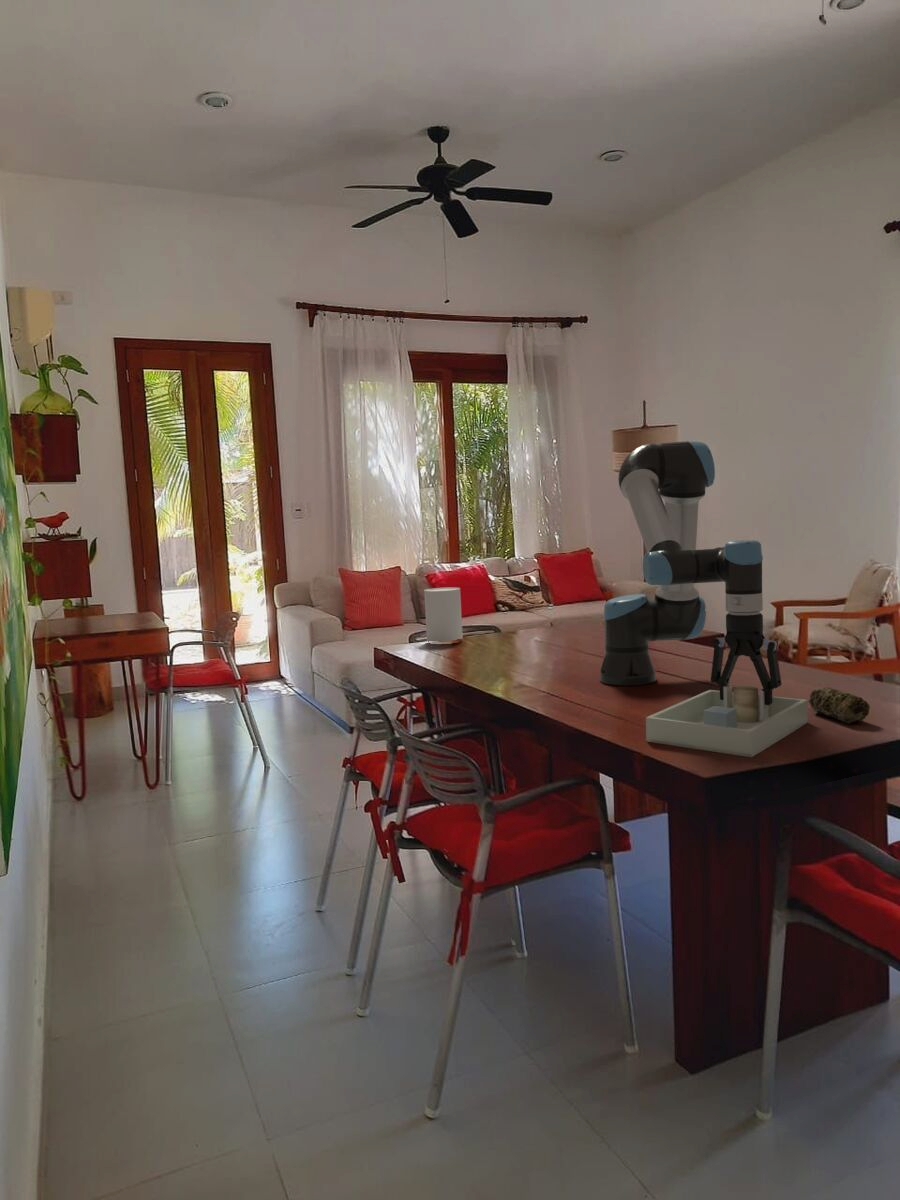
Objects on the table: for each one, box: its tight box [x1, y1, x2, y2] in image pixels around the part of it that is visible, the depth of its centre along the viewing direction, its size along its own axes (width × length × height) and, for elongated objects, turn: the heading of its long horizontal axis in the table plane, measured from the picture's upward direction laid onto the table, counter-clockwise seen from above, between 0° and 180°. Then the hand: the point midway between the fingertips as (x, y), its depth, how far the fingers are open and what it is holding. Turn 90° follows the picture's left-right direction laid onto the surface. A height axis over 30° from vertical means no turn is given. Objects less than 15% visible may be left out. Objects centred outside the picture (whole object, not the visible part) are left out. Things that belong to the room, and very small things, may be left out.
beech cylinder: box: [733, 685, 759, 723], centre depth 187 cm, size 5×5×7 cm
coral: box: [808, 686, 871, 725], centre depth 187 cm, size 14×6×6 cm, turn 11°
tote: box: [645, 689, 809, 758], centre depth 181 cm, size 22×30×5 cm
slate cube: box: [703, 706, 737, 728], centre depth 178 cm, size 5×5×5 cm
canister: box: [423, 587, 463, 642], centre depth 325 cm, size 14×14×20 cm
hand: (746, 717), depth 188 cm, fingers open, 7 cm apart
